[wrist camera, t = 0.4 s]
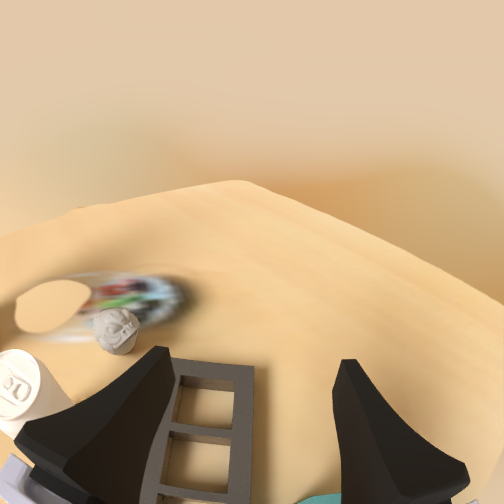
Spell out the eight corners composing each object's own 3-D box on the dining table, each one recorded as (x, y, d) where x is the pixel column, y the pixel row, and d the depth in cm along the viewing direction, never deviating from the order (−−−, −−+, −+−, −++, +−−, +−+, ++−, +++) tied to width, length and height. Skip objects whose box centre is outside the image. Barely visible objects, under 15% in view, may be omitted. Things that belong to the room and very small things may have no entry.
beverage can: (54, 399, 24) (6, 333, 17) (107, 426, 23) (62, 365, 17) (27, 448, 17) (-37, 392, 10) (82, 484, 16) (16, 443, 10)
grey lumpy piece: (129, 376, 29) (114, 340, 26) (91, 351, 31) (74, 314, 28) (156, 345, 34) (147, 306, 30) (118, 324, 36) (107, 287, 32)
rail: (245, 574, 11) (247, 578, 9) (133, 557, 11) (125, 558, 9) (252, 377, 32) (254, 366, 30) (170, 368, 31) (167, 356, 30)
